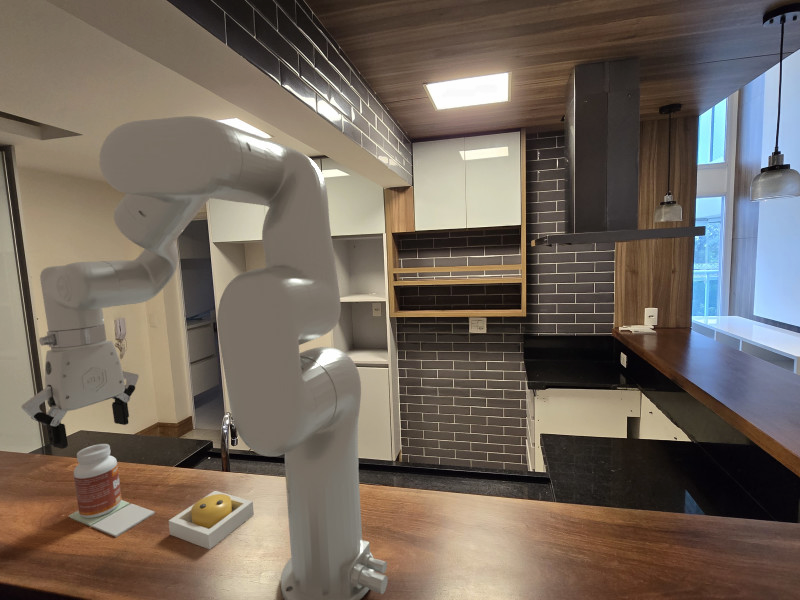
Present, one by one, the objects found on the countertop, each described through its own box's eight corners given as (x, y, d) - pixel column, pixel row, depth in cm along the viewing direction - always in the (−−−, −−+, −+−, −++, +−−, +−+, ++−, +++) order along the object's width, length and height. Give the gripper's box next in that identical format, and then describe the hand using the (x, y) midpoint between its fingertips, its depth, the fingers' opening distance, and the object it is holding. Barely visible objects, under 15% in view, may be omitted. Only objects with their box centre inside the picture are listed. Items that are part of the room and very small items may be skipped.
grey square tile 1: (155, 513, 71) (154, 511, 71) (116, 537, 65) (115, 535, 65) (131, 505, 74) (131, 503, 74) (92, 527, 68) (92, 525, 68)
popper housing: (253, 514, 70) (252, 501, 69) (209, 549, 62) (208, 534, 61) (216, 502, 74) (215, 490, 73) (170, 534, 65) (168, 520, 65)
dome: (240, 515, 69) (238, 497, 69) (210, 537, 64) (208, 518, 63) (215, 507, 71) (213, 490, 71) (184, 528, 66) (182, 510, 66)
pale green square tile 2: (129, 504, 74) (129, 502, 74) (90, 526, 68) (90, 524, 68) (108, 496, 77) (108, 495, 77) (68, 517, 71) (68, 515, 71)
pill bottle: (125, 508, 72) (117, 448, 71) (81, 524, 68) (73, 462, 67) (118, 494, 77) (111, 438, 76) (77, 509, 73) (69, 450, 72)
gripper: (26, 350, 60) (44, 461, 61) (143, 329, 75) (154, 418, 77) (1, 348, 63) (19, 454, 64) (118, 328, 78) (129, 414, 80)
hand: (92, 434), depth 71 cm, fingers open, 9 cm apart
